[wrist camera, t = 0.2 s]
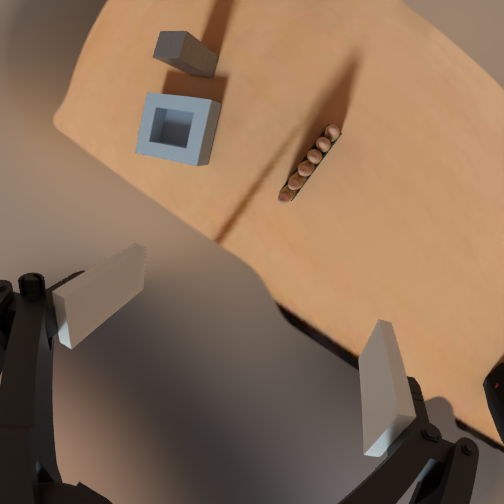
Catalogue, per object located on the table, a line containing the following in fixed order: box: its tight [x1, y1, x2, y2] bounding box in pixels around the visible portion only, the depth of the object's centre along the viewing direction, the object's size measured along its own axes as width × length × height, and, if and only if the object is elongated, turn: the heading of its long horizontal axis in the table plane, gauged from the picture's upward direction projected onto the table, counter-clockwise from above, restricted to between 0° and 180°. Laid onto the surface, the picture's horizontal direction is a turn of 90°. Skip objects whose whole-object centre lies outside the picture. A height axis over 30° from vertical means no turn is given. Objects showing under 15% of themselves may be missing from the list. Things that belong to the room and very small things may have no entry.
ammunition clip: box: [278, 124, 342, 204], centre depth 33 cm, size 11×2×12 cm, turn 146°
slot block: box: [136, 93, 222, 166], centre depth 39 cm, size 9×10×4 cm
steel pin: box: [153, 31, 219, 78], centre depth 32 cm, size 4×4×11 cm
